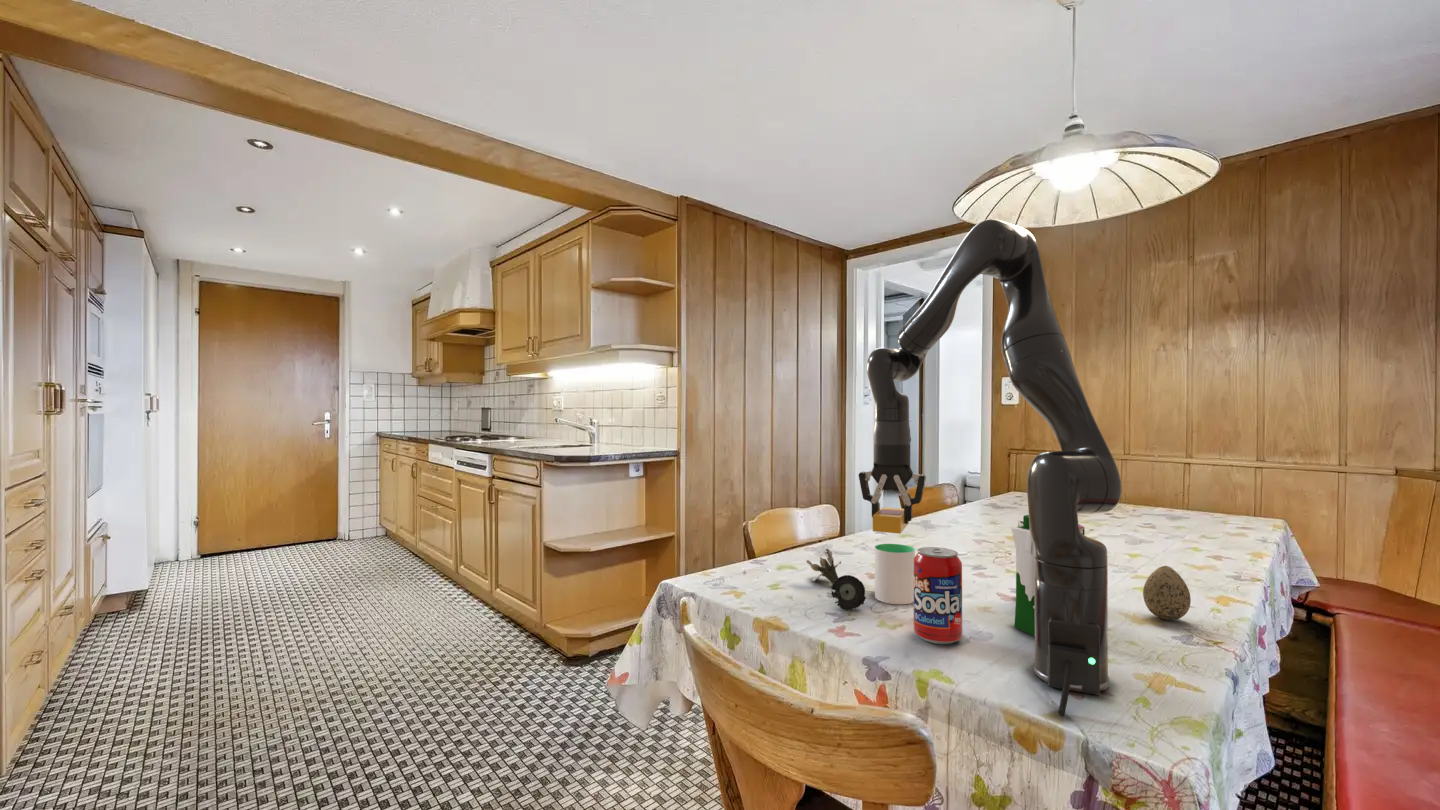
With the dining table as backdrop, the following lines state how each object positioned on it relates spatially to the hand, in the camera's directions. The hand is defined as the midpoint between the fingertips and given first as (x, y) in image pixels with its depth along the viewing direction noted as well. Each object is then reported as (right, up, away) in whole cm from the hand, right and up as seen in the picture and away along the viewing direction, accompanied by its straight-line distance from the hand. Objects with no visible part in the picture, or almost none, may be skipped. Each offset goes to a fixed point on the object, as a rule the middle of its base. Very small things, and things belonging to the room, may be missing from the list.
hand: (891, 521), depth 126 cm
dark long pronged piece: (-12, -16, +2) cm, 20 cm away
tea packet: (0, -1, 0) cm, 1 cm away
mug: (0, -16, 0) cm, 16 cm away
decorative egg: (+47, -16, -15) cm, 52 cm away
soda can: (+1, -16, -24) cm, 28 cm away
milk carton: (+21, -16, -21) cm, 34 cm away
